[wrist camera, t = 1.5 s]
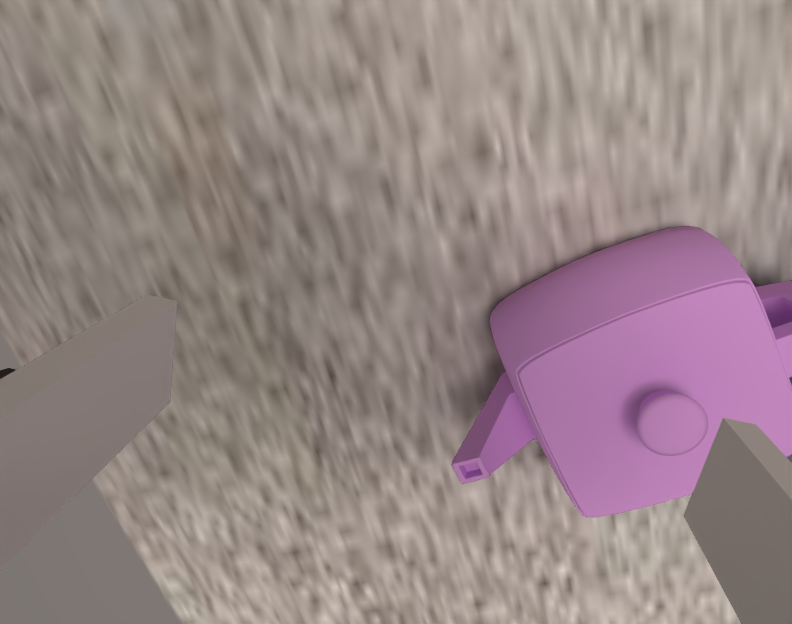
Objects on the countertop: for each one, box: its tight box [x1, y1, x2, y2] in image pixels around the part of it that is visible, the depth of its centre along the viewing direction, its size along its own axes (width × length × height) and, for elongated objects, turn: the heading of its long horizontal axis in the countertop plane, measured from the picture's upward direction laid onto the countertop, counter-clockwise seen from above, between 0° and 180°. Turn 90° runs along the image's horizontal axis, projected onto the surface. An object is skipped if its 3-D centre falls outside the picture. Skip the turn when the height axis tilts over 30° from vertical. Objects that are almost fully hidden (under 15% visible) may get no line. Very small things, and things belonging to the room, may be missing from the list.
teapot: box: [451, 226, 792, 517], centre depth 29 cm, size 18×10×10 cm, turn 116°
